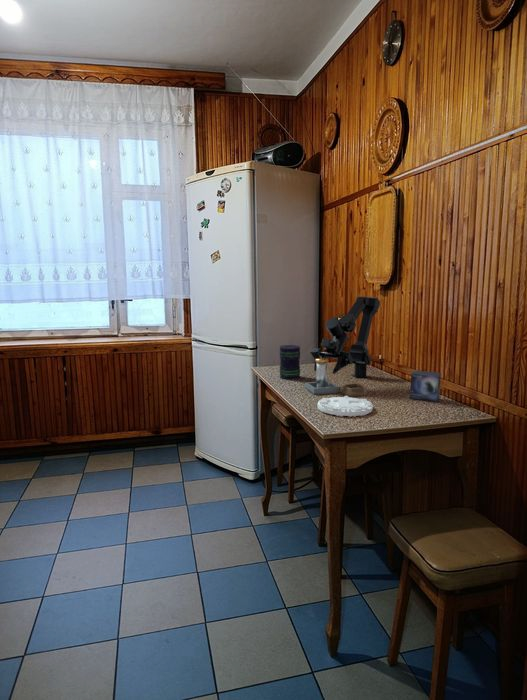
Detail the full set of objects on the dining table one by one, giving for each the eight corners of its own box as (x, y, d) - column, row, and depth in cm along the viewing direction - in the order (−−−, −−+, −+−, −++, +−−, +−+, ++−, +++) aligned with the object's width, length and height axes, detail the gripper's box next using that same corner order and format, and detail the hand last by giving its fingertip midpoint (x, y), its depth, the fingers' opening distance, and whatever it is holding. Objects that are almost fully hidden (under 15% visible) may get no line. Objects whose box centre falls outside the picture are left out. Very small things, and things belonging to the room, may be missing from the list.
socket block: (340, 391, 197) (340, 384, 196) (357, 390, 199) (358, 383, 198) (348, 396, 189) (348, 389, 189) (366, 394, 191) (366, 387, 191)
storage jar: (300, 379, 219) (300, 348, 217) (279, 379, 220) (279, 348, 217) (299, 375, 229) (299, 345, 227) (279, 375, 229) (279, 345, 227)
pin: (315, 387, 202) (315, 357, 200) (327, 387, 201) (328, 358, 199) (314, 390, 197) (315, 360, 195) (327, 390, 196) (328, 360, 194)
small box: (409, 399, 184) (410, 373, 183) (412, 395, 190) (413, 370, 188) (437, 402, 179) (438, 375, 178) (439, 398, 185) (441, 372, 183)
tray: (304, 388, 203) (304, 382, 202) (328, 386, 206) (328, 381, 205) (313, 394, 192) (313, 388, 192) (338, 392, 195) (338, 386, 195)
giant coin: (379, 407, 175) (379, 399, 175) (362, 421, 158) (362, 413, 158) (329, 400, 185) (329, 393, 185) (308, 412, 168) (308, 404, 168)
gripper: (312, 330, 206) (298, 358, 200) (350, 333, 194) (336, 363, 188) (322, 345, 213) (308, 373, 207) (359, 349, 202) (345, 378, 195)
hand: (324, 371), depth 199 cm, fingers open, 9 cm apart
